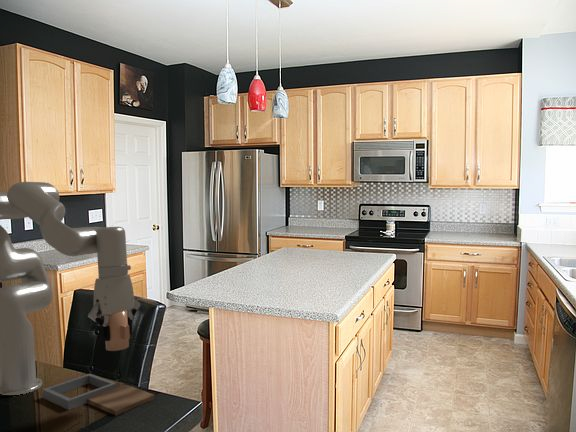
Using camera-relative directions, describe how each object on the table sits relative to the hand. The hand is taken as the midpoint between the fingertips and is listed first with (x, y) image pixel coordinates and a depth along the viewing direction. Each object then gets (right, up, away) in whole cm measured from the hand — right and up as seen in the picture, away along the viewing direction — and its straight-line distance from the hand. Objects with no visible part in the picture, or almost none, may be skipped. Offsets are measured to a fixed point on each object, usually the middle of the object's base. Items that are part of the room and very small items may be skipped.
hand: (116, 336), depth 130 cm
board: (+1, -18, 0) cm, 18 cm away
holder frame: (-13, -18, +6) cm, 23 cm away
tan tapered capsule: (0, -3, 0) cm, 3 cm away
